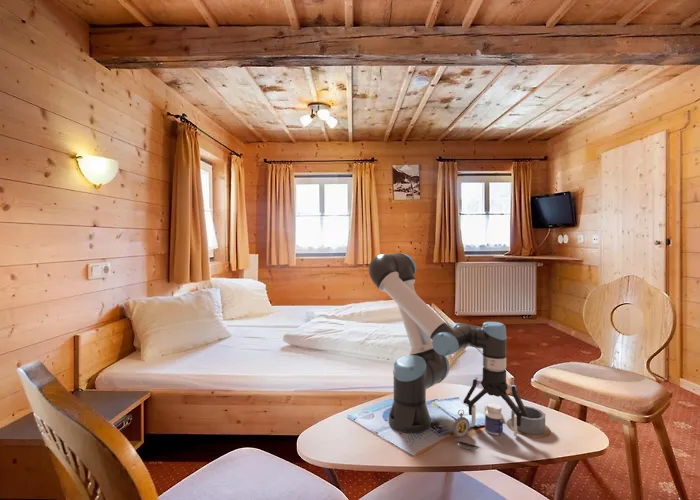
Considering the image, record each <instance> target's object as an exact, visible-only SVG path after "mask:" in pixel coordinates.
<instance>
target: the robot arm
mask: <svg viewBox="0 0 700 500" xmlns="http://www.w3.org/2000/svg"><path fill="white" fill-rule="evenodd" d="M416 272H417V266H416V262H415V260H414V259H413V258H412V257H411V256H410V255H408V254H406V253H400V252H396V253H381V254H377V255H376V256H374V257H373V258H372V259H371V260H370V263H369V265H368V275H369V277H370V280H371V281H372V283H373V284H374V285H375V287H376V288H378V289H379V291H380V292H385V293H386V294H387V295H388V296H389V297H390V299H392V300H393V301H394V302H395V303H396V305H397V307H398V309H399V313H400V317H401V319H402V323H403V325H404V328H405V332H406V334H407V337H408V342H409V344H410V347H411V350H410V351H409V354H408V355H403V356H400V357H398V358H396V360H395V361H394V363H393V370H392V374H393V402H392V404H391V408H390V411H389V413H388V423H389V426H390V427H391V428H393V429H394V430H396V431H397V432H398V431H399V432H401V433H405V434H420V433H423V432H426V431H428V430H429V429H430V428H431V426H432V425H431V423H432V422H431V421H432V420H431V416H430V413H429V409H428V406H427V403H426V401H427V400H426V398H427V390H428V389H429V388H431V387H434V386H435V385H438V384H440V383H441V382H442V381H444V380H445V379H446V378H447V377H448V375H449V372H450V368H451V367H450V362H449V359H448V357H447V356H451V355H453V354H455V353H457V352H459V351H461V350H463V349H466V348H468V347H472V348H476V349H482V366H483V367H482V379H479V378H478V377H474V378H473V380H472V386H471V387H470V388H469V390H468V393H467V394H466V396H465V398H464V400H463V401H462V402H463V404H465V405H467V406H468V415H469V416H471V426H472V427H475V424H476V412H477V411H476V406H477V405H476V403H477V402H478V401H479V400H480V399H481V398H482V397H483V396H485V395H486V394H488V396H495V397H498V398H499V397H501V398H502V400H504V401H505V403H506V404H507V406H509V408H510V409H511V411H512V410H513V412H514V413H515V415H514V431H513V437H517V435H518V433H517V426H520V425H521V416H526V415H527V410H526V408H525V406H526V405H524V403H523V400H522V398H521V396H520V394H519V392H518V390H517V384H514V383H513V384H507V370H506V369H507V339H508V337H507V328H506V325H505V324H504V323H501V322H498V321H485V322H483V323H482V326H479V325H473V324H467V323H465V322H453V323H452V324H451V325H449V324H447V323H446V322H445V321H444V320H443V318H441V317H440V316H439V315H438V314H437V313H436V312H435V310H433V309H432V308H431V307H430V306H429V305H428V304H427V303H426V302H425V301H424V300H423V299H421V297H419V295H418V294H417V292H416V290H415V289H416V288H415V286H414V285H415V282H416V277H415V275H416ZM479 385H481V386H482V389H481V391H479V392H478V393H477V394H476V395H475V396H474V397H473V398H472V399H471V400H470V398H471V397H472V394H473V393H474V392H475V389H476V388H477V387H479ZM507 390H509V392H510V393H511V394H512V396H513V399H514V400H515V402H516V403H515V402H514V401H513V400H512V398H511V397H510V396H509V395H508V393H507ZM516 404H517V405H516ZM517 406H518V407H519V409H520V410H519V409H518V407H517Z"/></svg>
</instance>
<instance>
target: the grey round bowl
mask: <svg viewBox="0 0 700 500" xmlns="http://www.w3.org/2000/svg"><path fill="white" fill-rule="evenodd" d="M516 406H517V407H518V405H516ZM524 406H525V408H526V410H527V415H526V416H521V425H520V426H517V430H518V431H520V432H522V433H525V434H530V435H541V434H543V433H544V432H545V425H546V413H544V412H543V411H542V410H541V409H538V408H536V407H533V406H528V405H524ZM518 409H519V407H518ZM519 410H520V409H519ZM510 415H511V416H510V417H511V418H510V419H511V423H512V426H513V427H514V415H515V413H514V412H513V410H512V409H511V413H510Z"/></svg>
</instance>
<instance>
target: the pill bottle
mask: <svg viewBox="0 0 700 500" xmlns="http://www.w3.org/2000/svg"><path fill="white" fill-rule="evenodd" d="M486 406H487V411H486V412H485V411H484V412H485V413H484V432H486V433H487V434H488V435H490V436H495V437H498V436H502V435H503V434H504V433H503V432H504V431H503V430H504V415H503V413H502V406H501V405H499V404H497V403H493V402H491V403H487V404H486Z"/></svg>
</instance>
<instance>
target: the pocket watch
mask: <svg viewBox="0 0 700 500" xmlns="http://www.w3.org/2000/svg"><path fill="white" fill-rule="evenodd" d="M460 411H461V412H460ZM459 412H460V413H459ZM457 415H459V417H457V418H456V419H455V420H454V422H453V425H452V433H453V435H454V436H455V437H457V438H463V437H465V436H466V435H467V434H468V432H469V430H470V421H469V419H468V418H467V417H465V416H463V415H465V410H464V409H459V410H458V411H457ZM457 443H458V445H459V446H460V447H461V448H463V449H465V450H476V449H478V448H479V445H475V444H471V443H468V442H465V441H460V440H457Z"/></svg>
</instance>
